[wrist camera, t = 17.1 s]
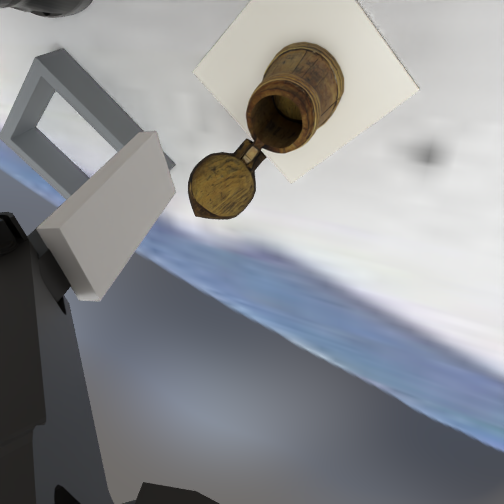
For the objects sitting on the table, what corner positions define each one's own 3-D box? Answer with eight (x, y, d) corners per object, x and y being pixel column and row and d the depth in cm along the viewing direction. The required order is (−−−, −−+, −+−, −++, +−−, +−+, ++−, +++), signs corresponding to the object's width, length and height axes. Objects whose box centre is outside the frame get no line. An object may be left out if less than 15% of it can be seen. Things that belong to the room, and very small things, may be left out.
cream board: (194, 70, 48) (192, 72, 47) (307, -68, 37) (306, -68, 36) (292, 182, 52) (291, 184, 52) (419, 89, 41) (419, 90, 41)
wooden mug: (228, 118, 49) (155, 185, 36) (300, 22, 40) (240, 62, 27) (281, 167, 51) (230, 248, 37) (362, 84, 42) (333, 152, 29)
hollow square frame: (24, 125, 61) (-2, 137, 58) (63, 48, 51) (35, 57, 48) (122, 218, 66) (105, 235, 63) (175, 164, 57) (158, 180, 53)
